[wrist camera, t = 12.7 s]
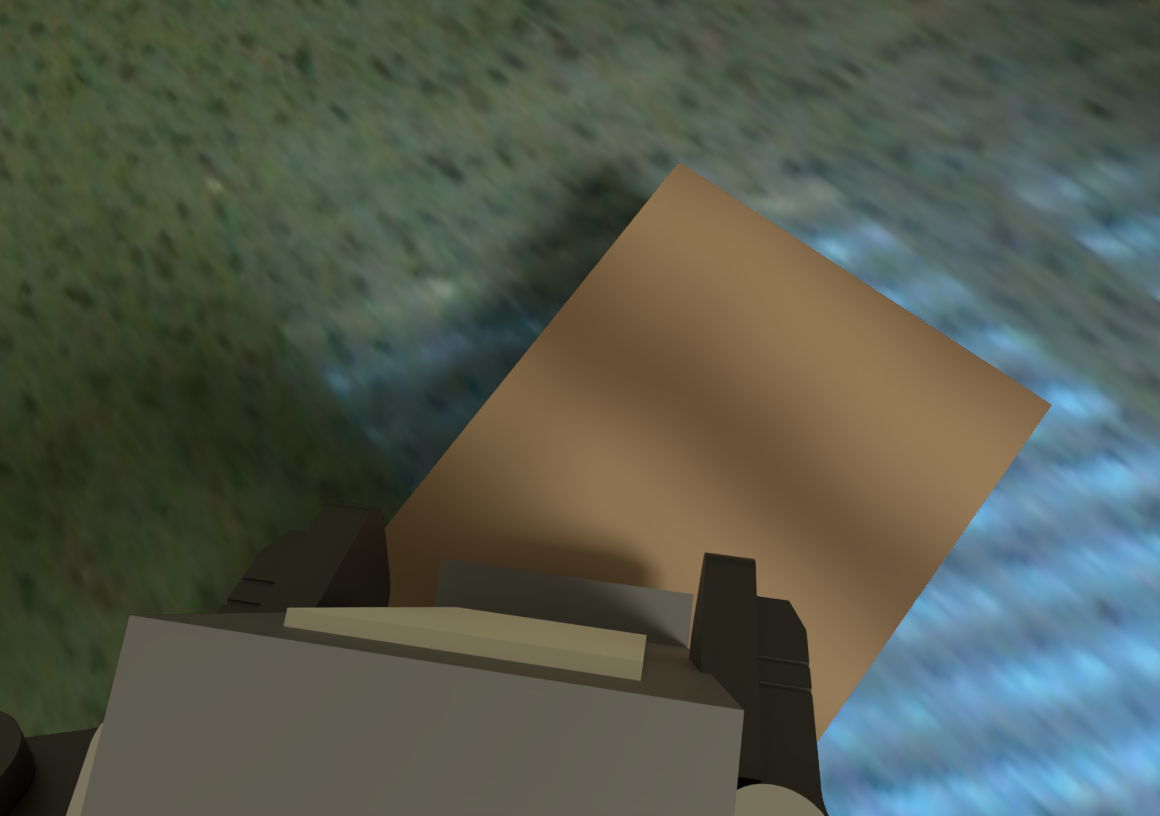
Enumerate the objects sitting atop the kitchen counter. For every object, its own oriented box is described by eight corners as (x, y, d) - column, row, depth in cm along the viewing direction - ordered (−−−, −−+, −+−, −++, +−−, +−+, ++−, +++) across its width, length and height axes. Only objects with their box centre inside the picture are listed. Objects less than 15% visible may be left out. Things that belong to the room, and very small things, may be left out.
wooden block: (675, 217, 23) (678, 162, 20) (996, 431, 21) (1051, 404, 18) (130, 900, 21) (44, 949, 18) (442, 1222, 19) (403, 1337, 16)
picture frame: (452, 561, 18) (160, 494, 7) (691, 595, 17) (756, 576, 7) (418, 761, 17) (27, 1025, 6) (668, 804, 16) (700, 1169, 6)
